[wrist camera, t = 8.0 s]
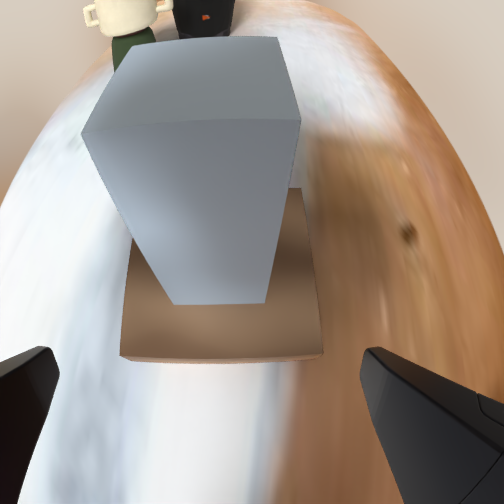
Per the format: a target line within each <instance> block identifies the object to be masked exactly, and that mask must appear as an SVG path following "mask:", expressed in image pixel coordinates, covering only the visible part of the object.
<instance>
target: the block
mask: <svg viewBox="0 0 504 504" xmlns="http://www.w3.org/2000/svg"><path fill="white" fill-rule="evenodd" d="M300 124H301V117H300V113H299V109H298V106H297V102H296V98H295V95H294V91H293V88H292V84H291V81H290V77H289V74H288V71H287V67H286V64H285V61H284V57H283V54H282V51H281V48H280V45H279V42H278V39H277V37H262V36H227V37H205V38H191V39H180V40H171V41H163V42H155V43H148V44H142V45H136V46H132V47H131V49H130V50H129V52H128V53H127V54H126V56H125V57H124V59H123V60H122V62H121V64H120V65H119V67H118V68H117V70H116V71H115V73H114V75H113V76H112V78H111V79H110V81H109V83H108V84H107V86H106V88H105V90H104V91H103V93H102V95H101V96H100V98H99V100H98V102H97V104H96V105H95V107H94V109H93V111H92V113H91V115H90V117H89V119H88V121H87V122H86V124H85V126H84V128H83V130H82V132H81V136H82V138H83V140H84V143H85V145H86V147H87V149H88V151H89V153H90V155H91V158H92V160H93V162H94V164H95V166H96V168H97V170H98V172H99V174H100V176H101V178H102V180H103V182H104V184H105V186H106V188H107V190H108V192H109V194H110V196H111V198H112V200H113V202H114V204H115V205H116V207H117V209H118V211H119V213H120V215H121V217H122V218H123V220H124V222H125V224H126V226H127V228H128V229H129V231H130V233H131V235H132V237H133V238H134V240H135V242H136V244H137V245H138V247H139V249H140V250H141V252H142V254H143V256H144V257H145V259H146V261H147V262H148V264H149V266H150V267H151V269H152V271H153V272H154V274H155V276H156V277H157V279H158V281H159V282H160V284H161V285H162V287H163V289H164V290H165V292H166V293H167V295H168V297H169V298H170V300H171V301H172V303H173V304H174V305H215V304H257V303H265V299H266V294H267V290H268V285H269V280H270V276H271V271H272V266H273V261H274V257H275V252H276V247H277V242H278V237H279V233H280V228H281V223H282V218H283V213H284V208H285V203H286V198H287V193H288V188H289V182H290V177H291V172H292V167H293V162H294V156H295V151H296V146H297V140H298V135H299V130H300Z"/></svg>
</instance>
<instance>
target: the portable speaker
mask: <svg viewBox="0 0 504 504" xmlns="http://www.w3.org/2000/svg"><path fill="white" fill-rule="evenodd" d="M234 3H235V0H173V9H172V11H173V15H174V19H175V23H176V27H177V30H178V33H179V38H180V39H191V38H205V37H227V36H229V34H230V26H231V22H232V16H233V9H234Z"/></svg>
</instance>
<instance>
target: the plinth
mask: <svg viewBox="0 0 504 504" xmlns="http://www.w3.org/2000/svg"><path fill="white" fill-rule="evenodd" d="M322 354H323V344H322V334H321V325H320V316H319V307H318V299H317V291H316V283H315V276H314V268H313V261H312V254H311V247H310V240H309V234H308V227H307V221H306V215H305V209H304V203H303V197H302V191H301V188H288V193H287V198H286V203H285V208H284V213H283V218H282V223H281V228H280V233H279V237H278V242H277V247H276V252H275V257H274V261H273V266H272V271H271V276H270V280H269V285H268V290H267V294H266V299H265V303H257V304H215V305H174V304H173V303H172V301H171V300H170V298H169V297H168V295H167V293H166V292H165V290H164V289H163V287H162V285H161V284H160V282H159V281H158V279H157V277H156V276H155V274H154V272H153V271H152V269H151V267H150V266H149V264H148V262H147V261H146V259H145V257H144V256H143V254H142V252H141V250H140V249H139V247H138V245H137V244H136V242H135V240H134V238H133V239H132V245H131V251H130V258H129V265H128V272H127V279H126V287H125V296H124V305H123V315H122V327H121V340H120V356H122V357H124V358H126V359H128V360H130V361H139V362H158V363H190V364H230V363H263V362H282V361H296V360H309V359H316V358H317V357H319V356H320V355H322Z"/></svg>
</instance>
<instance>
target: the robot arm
mask: <svg viewBox="0 0 504 504" xmlns="http://www.w3.org/2000/svg"><path fill="white" fill-rule="evenodd" d="M59 375H60V372H59V368H58V365H57V362H56V360H55V357H54V354H53V351H52V350H51V348H49V347H45V346H37V347H35V348H32V349H30V350H28V351H25V352H23V353H21V354H18V355H16V356H14V357H11V358H9V359H7V360H4V361H2V362H0V504H17V503H18V499H19V495H20V492H21V489H22V485H23V482H24V479H25V476H26V472H27V469H28V466H29V463H30V460H31V458H32V455H33V452H34V449H35V446H36V444H37V441H38V438H39V436H40V433H41V431H42V428H43V425H44V423H45V420H46V418H47V415H48V412H49V408H50V405H51V402H52V398H53V395H54V392H55V389H56V386H57V383H58V380H59ZM360 381H361V384H362V387H363V391H364V394H365V398H366V401H367V405H368V409H369V412H370V416H371V419H372V422H373V425H374V428H375V430H376V433H377V435H378V438H379V440H380V442H381V445H382V447H383V450H384V452H385V455H386V457H387V460H388V462H389V465H390V468H391V470H392V473H393V475H394V478H395V480H396V483H397V486H398V488H399V491H400V494H401V496H402V499H403V502H404V504H504V404H503V403H500V402H498V401H495V400H493V399H491V398H488V397H486V396H484V395H482V394H480V393H478V394H477V393H476V392H475V391H473V390H471V389H468V388H466V387H464V386H462V385H460V384H457V383H455V382H453V381H451V380H449V379H447V378H444V377H442V376H440V375H438V374H436V373H434V372H432V371H430V370H427V369H425V368H423V367H421V366H419V365H417V364H415V363H413V362H411V361H408V360H406V359H404V358H402V357H400V356H398V355H396V354H394V353H392V352H390V351H388V350H386V349H384V348H382V347H372V348H367V349H366V350H365V352H364V355H363V360H362V365H361V369H360Z"/></svg>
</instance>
